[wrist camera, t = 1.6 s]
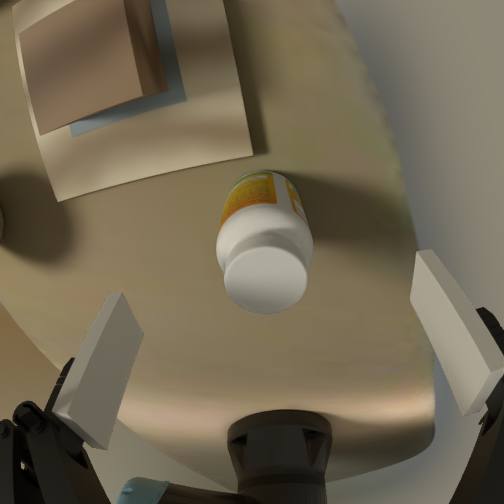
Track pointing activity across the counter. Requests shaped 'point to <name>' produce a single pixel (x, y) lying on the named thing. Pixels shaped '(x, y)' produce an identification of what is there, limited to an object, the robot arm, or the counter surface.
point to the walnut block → (90, 60)
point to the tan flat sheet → (152, 106)
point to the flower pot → (1, 224)
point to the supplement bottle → (264, 243)
